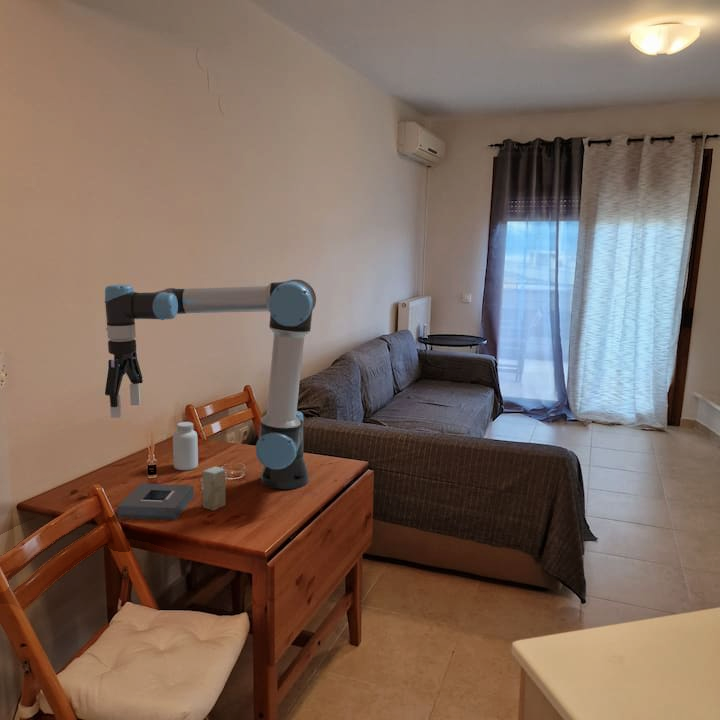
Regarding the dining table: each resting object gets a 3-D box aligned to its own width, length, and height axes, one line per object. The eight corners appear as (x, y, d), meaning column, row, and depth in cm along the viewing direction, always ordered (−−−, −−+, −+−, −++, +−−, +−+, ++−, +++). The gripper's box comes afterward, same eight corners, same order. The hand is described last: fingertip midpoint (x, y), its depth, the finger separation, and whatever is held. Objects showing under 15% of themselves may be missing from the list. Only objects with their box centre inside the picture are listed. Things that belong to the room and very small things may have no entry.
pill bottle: (203, 465, 211) (202, 423, 208) (185, 472, 204) (183, 428, 201) (187, 460, 215) (185, 419, 212) (168, 467, 208) (166, 424, 205)
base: (193, 496, 185) (193, 484, 185) (175, 520, 170) (175, 507, 169) (140, 494, 186) (140, 482, 185) (118, 517, 170) (117, 505, 170)
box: (213, 511, 176) (212, 474, 174) (202, 507, 178) (201, 470, 176) (226, 504, 180) (225, 468, 178) (215, 501, 183) (215, 465, 180)
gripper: (127, 332, 190) (131, 399, 194) (88, 346, 166) (93, 422, 170) (151, 333, 190) (154, 400, 194) (115, 346, 165) (120, 423, 169)
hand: (126, 411), depth 182 cm, fingers open, 13 cm apart
